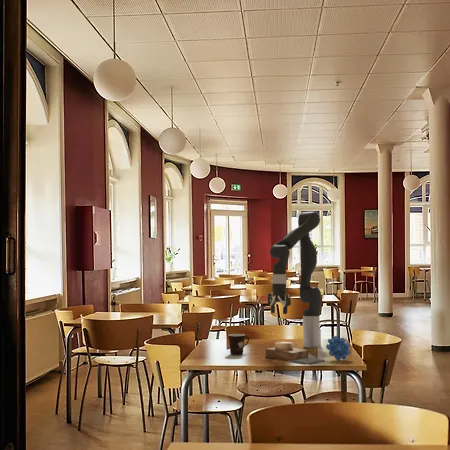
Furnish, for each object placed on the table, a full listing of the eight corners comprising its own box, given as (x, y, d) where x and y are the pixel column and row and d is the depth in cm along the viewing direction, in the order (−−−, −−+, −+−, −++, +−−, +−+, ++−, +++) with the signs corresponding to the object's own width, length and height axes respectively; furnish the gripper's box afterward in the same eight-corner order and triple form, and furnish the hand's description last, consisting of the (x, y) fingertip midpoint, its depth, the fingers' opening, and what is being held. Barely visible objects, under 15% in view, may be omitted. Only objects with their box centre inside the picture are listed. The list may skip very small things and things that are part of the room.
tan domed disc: (283, 347, 326) (283, 341, 326) (296, 349, 319) (296, 343, 319) (271, 348, 320) (271, 343, 320) (284, 351, 313) (284, 344, 313)
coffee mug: (230, 356, 323) (230, 336, 324) (226, 353, 332) (226, 334, 332) (252, 355, 326) (252, 335, 326) (248, 352, 334) (248, 333, 335)
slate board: (307, 358, 314) (307, 357, 314) (324, 361, 306) (324, 359, 306) (290, 361, 305) (290, 360, 306) (307, 364, 298) (307, 363, 298)
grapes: (326, 361, 306) (326, 336, 307) (326, 359, 313) (326, 334, 313) (351, 361, 305) (350, 336, 305) (350, 359, 311) (349, 335, 312)
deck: (281, 354, 329) (281, 346, 329) (308, 358, 315) (308, 350, 315) (265, 356, 320) (265, 348, 321) (292, 361, 307) (292, 353, 307)
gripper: (294, 283, 332) (293, 314, 331) (274, 282, 343) (273, 312, 342) (284, 283, 327) (284, 314, 326) (264, 282, 338) (264, 312, 337)
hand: (278, 313), depth 334 cm, fingers open, 8 cm apart
